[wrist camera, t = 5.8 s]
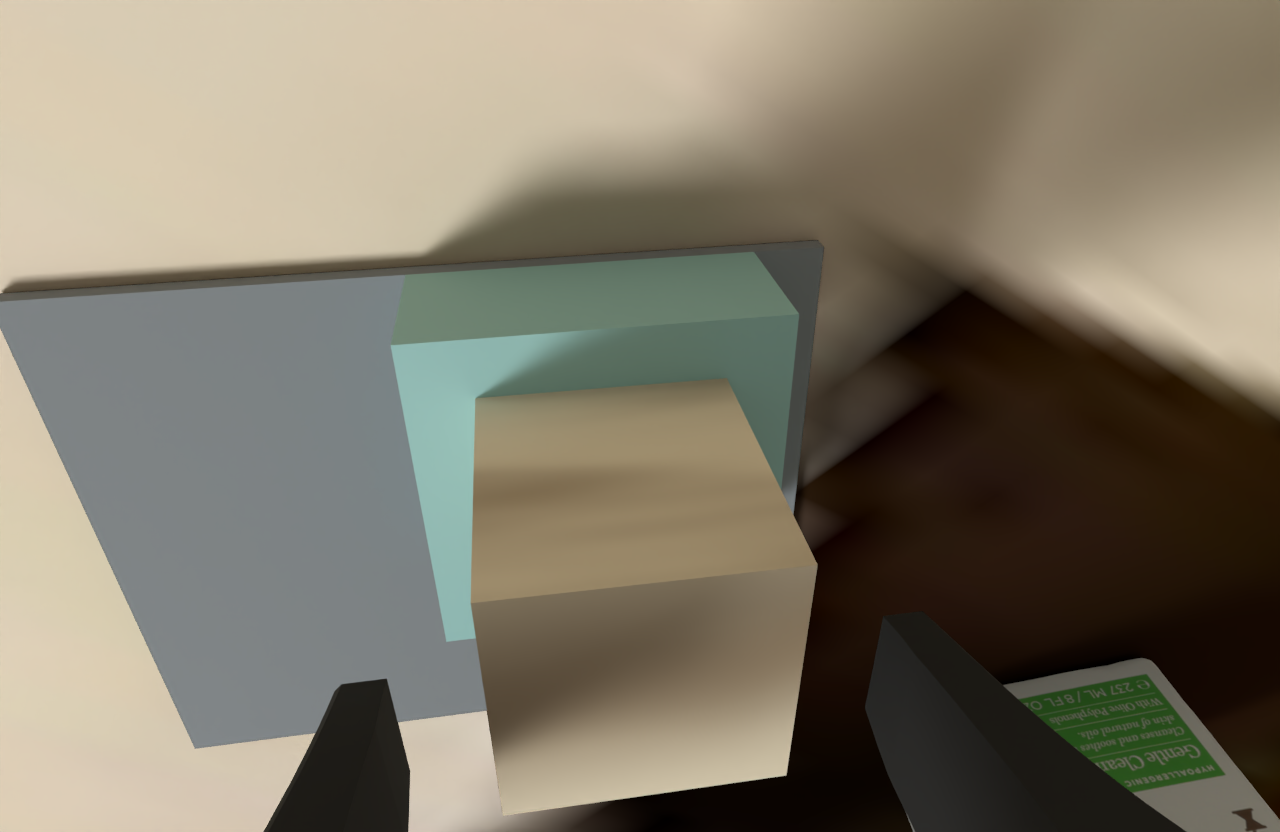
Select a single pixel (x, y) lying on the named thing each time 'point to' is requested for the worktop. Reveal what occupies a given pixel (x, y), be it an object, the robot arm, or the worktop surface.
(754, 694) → the maple block
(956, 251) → the worktop surface
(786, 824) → the worktop surface
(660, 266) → the plinth
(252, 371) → the mat
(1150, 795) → the skincare box
